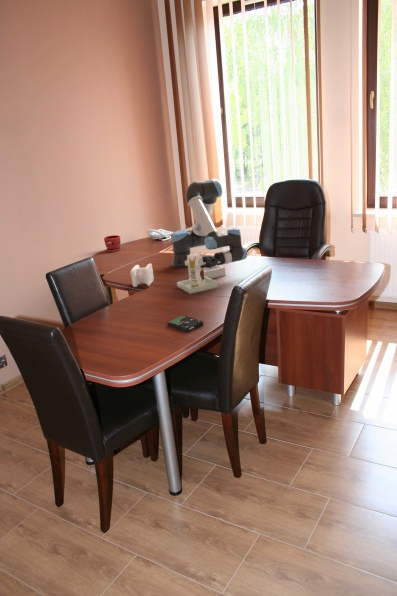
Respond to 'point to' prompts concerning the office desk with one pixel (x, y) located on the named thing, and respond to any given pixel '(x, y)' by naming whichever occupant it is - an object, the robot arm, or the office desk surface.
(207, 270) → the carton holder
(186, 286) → the tray
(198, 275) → the juice carton
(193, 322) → the disk drive
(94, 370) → the office desk surface
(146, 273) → the cable organizer
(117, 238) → the plant pot
